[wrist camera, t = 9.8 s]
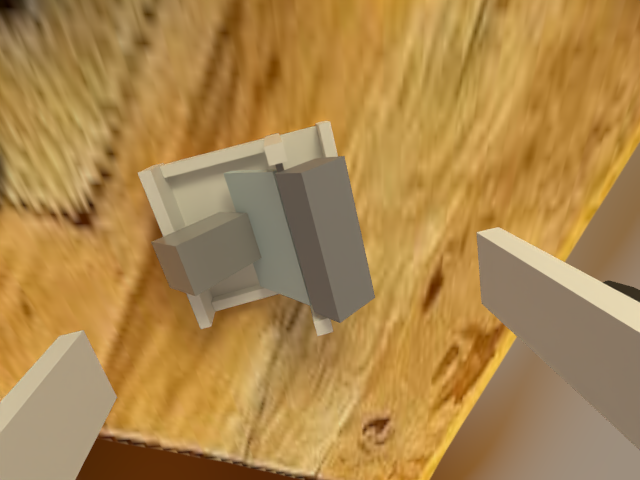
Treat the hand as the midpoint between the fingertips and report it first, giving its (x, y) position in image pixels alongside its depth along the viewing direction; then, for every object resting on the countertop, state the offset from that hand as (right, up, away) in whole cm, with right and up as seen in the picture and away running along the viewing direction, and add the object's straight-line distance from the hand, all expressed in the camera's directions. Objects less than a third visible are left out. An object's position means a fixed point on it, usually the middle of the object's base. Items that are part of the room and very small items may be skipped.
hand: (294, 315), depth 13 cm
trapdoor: (0, +4, +25) cm, 26 cm away
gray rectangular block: (-8, +3, +28) cm, 30 cm away
